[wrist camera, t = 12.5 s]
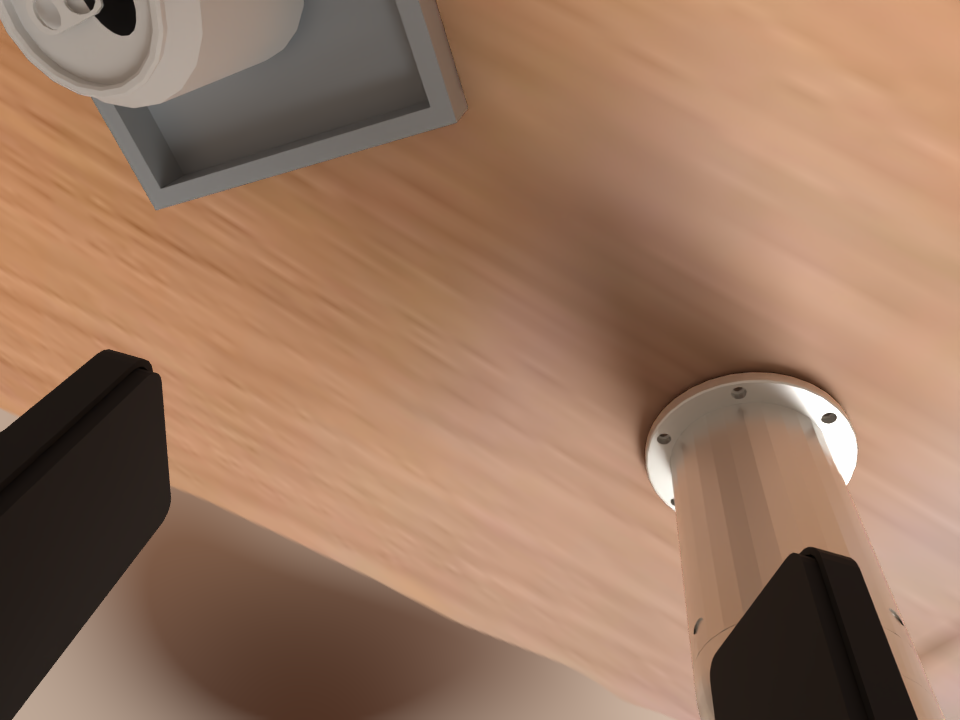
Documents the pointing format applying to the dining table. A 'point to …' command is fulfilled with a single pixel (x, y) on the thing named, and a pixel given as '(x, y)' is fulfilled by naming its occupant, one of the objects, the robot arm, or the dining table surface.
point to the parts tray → (298, 102)
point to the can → (147, 42)
